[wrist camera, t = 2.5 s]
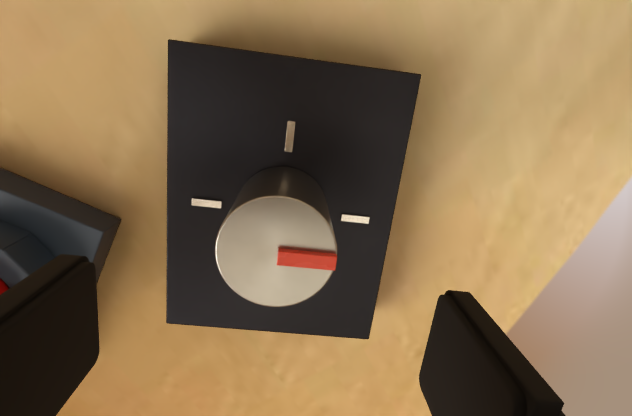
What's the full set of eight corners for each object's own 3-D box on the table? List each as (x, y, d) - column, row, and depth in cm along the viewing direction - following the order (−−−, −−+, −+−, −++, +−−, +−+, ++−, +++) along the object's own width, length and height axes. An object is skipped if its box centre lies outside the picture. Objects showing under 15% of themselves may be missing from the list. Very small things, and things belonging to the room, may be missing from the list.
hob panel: (184, 45, 18) (166, 38, 16) (406, 75, 19) (422, 74, 16) (180, 298, 22) (164, 325, 20) (361, 313, 23) (369, 341, 21)
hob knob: (233, 247, 19) (209, 307, 14) (239, 160, 17) (215, 191, 12) (321, 256, 19) (329, 317, 14) (333, 171, 18) (346, 205, 13)
